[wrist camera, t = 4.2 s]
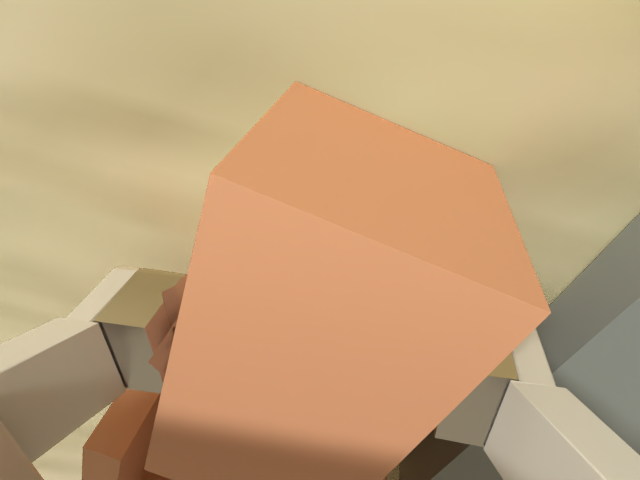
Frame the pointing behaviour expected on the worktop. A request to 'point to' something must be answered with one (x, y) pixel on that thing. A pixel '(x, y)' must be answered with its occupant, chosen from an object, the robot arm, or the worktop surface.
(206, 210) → the orange hollow block
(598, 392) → the board
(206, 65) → the worktop surface
